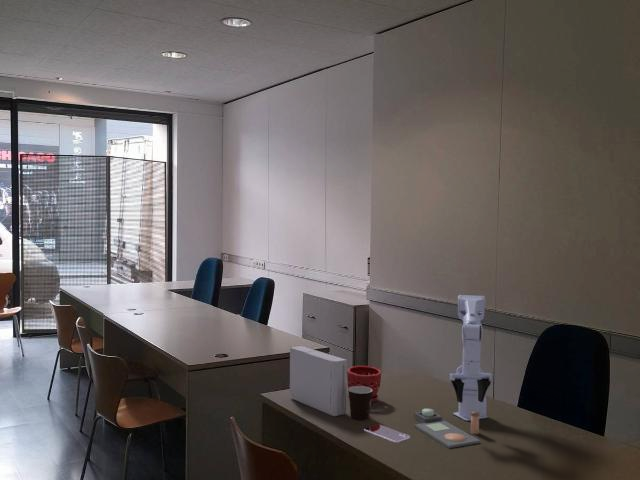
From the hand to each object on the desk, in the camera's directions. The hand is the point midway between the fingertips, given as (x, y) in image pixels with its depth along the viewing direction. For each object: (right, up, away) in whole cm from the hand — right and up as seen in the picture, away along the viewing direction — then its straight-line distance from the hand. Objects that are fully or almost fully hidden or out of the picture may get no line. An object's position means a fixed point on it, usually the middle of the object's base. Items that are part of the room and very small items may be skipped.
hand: (470, 401), depth 204 cm
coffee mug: (-35, -10, +17) cm, 40 cm away
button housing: (-12, -10, +14) cm, 21 cm away
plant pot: (-33, -9, +35) cm, 49 cm away
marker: (+2, -11, +2) cm, 11 cm away
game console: (-51, -9, +28) cm, 59 cm away
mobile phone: (-28, -11, 0) cm, 30 cm away
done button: (-12, -10, +14) cm, 21 cm away
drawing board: (-8, -11, 0) cm, 14 cm away
